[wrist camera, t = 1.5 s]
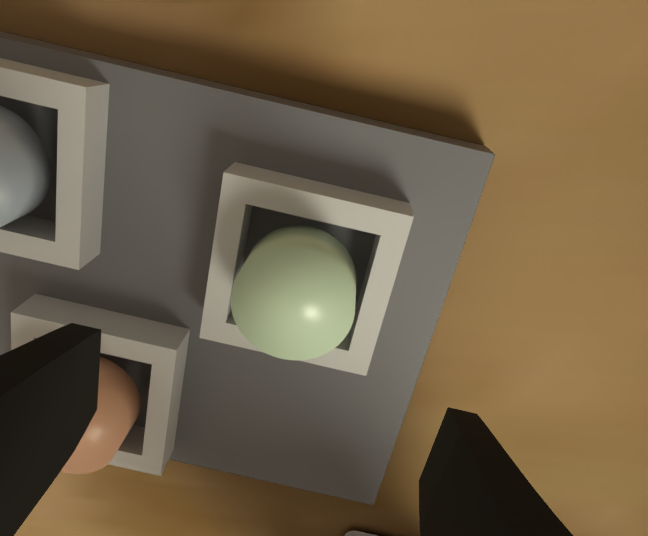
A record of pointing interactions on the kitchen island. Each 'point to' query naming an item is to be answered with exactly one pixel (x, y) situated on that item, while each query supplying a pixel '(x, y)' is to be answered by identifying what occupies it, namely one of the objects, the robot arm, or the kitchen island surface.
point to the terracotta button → (107, 420)
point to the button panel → (230, 258)
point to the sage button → (295, 293)
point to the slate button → (20, 168)
